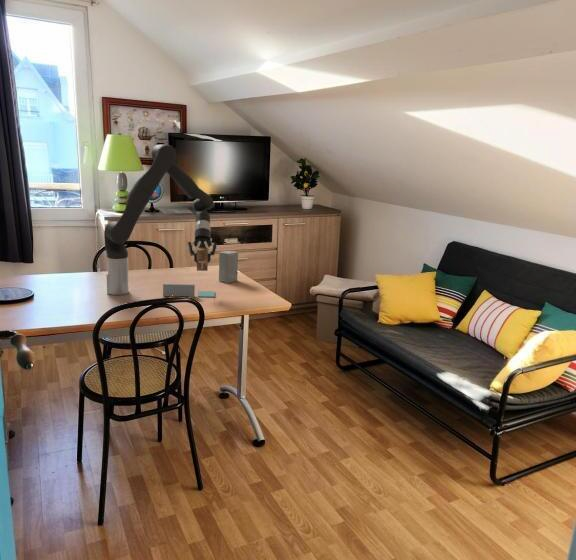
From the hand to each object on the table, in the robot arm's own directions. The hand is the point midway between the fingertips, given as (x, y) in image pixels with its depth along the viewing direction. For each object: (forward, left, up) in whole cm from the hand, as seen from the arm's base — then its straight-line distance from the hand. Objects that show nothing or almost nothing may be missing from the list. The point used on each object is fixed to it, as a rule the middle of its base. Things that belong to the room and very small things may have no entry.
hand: (202, 261), depth 246 cm
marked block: (0, +2, -4) cm, 5 cm away
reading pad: (+2, +1, -17) cm, 17 cm away
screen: (-11, -3, -17) cm, 20 cm away
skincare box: (+13, +26, -17) cm, 33 cm away
